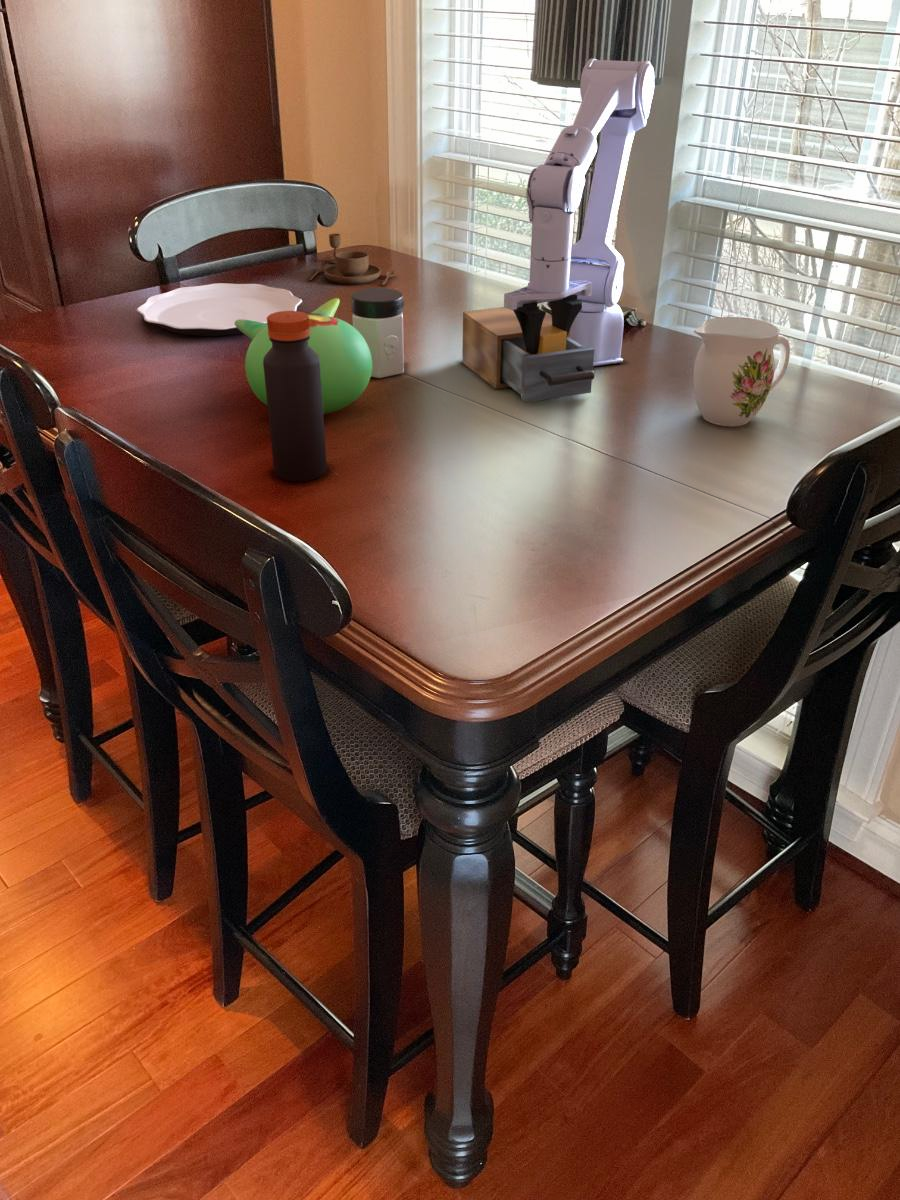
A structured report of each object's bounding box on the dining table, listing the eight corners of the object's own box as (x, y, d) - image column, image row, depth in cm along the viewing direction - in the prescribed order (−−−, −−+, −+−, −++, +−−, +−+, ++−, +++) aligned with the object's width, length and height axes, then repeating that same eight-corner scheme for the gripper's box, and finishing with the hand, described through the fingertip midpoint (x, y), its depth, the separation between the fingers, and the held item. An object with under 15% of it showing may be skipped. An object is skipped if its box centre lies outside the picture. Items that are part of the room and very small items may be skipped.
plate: (333, 310, 186) (332, 297, 185) (225, 352, 165) (223, 338, 164) (219, 287, 199) (218, 275, 198) (106, 323, 178) (103, 310, 177)
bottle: (264, 478, 124) (247, 321, 113) (290, 457, 130) (276, 305, 119) (312, 486, 122) (299, 328, 111) (336, 465, 127) (326, 311, 117)
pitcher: (804, 418, 142) (824, 324, 134) (707, 441, 135) (723, 342, 127) (752, 394, 150) (768, 304, 143) (658, 414, 143) (670, 320, 135)
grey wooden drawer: (604, 401, 145) (608, 357, 141) (536, 412, 141) (539, 367, 137) (553, 366, 157) (555, 325, 154) (489, 375, 154) (490, 333, 150)
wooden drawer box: (566, 378, 155) (570, 326, 151) (495, 389, 151) (497, 335, 147) (529, 353, 166) (531, 303, 161) (462, 362, 162) (462, 311, 157)
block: (565, 360, 147) (567, 331, 145) (541, 365, 145) (543, 336, 143) (547, 352, 150) (548, 324, 148) (524, 357, 148) (525, 328, 146)
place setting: (303, 283, 202) (301, 254, 199) (329, 260, 219) (327, 232, 216) (386, 287, 200) (385, 258, 197) (405, 263, 216) (405, 236, 213)
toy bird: (266, 440, 134) (255, 334, 126) (237, 399, 147) (226, 301, 139) (389, 421, 140) (385, 318, 132) (351, 383, 153) (346, 288, 145)
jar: (367, 382, 154) (364, 305, 147) (343, 367, 159) (339, 292, 153) (416, 371, 158) (415, 296, 151) (390, 357, 164) (388, 284, 157)
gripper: (573, 245, 146) (566, 335, 153) (492, 257, 139) (490, 350, 146) (603, 254, 141) (595, 347, 148) (522, 267, 134) (517, 364, 141)
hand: (545, 350), depth 147 cm, fingers closed on block, 4 cm apart
